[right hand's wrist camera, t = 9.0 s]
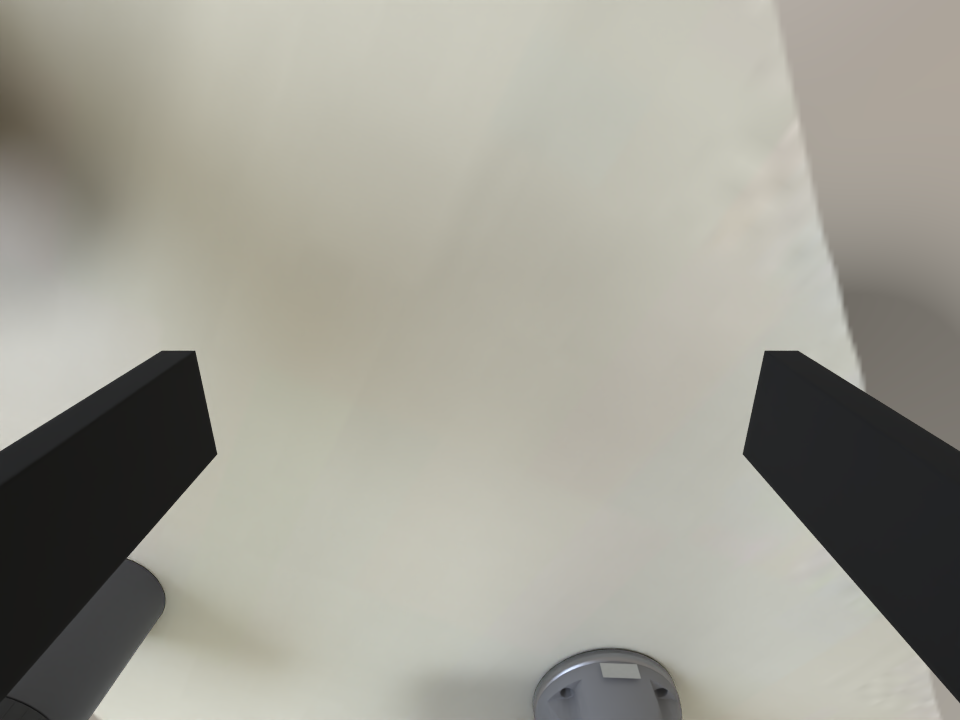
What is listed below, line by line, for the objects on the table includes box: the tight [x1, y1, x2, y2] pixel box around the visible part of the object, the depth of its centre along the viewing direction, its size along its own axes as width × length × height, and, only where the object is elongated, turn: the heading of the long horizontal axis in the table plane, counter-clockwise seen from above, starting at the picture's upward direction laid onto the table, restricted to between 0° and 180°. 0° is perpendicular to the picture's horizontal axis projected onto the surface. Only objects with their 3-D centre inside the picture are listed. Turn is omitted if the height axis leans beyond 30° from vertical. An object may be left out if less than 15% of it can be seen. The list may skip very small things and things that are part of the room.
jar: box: [6, 559, 165, 720], centre depth 44 cm, size 9×9×16 cm
